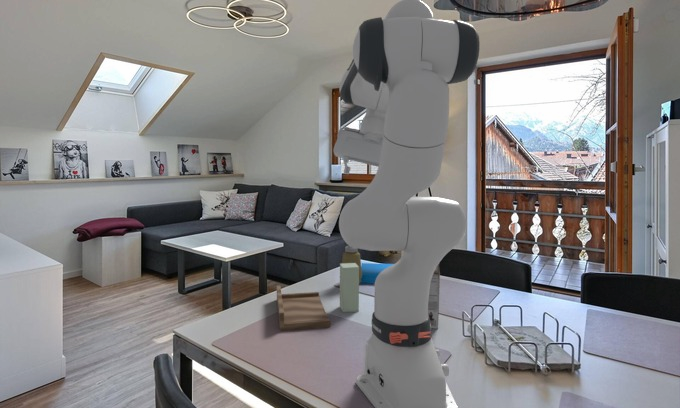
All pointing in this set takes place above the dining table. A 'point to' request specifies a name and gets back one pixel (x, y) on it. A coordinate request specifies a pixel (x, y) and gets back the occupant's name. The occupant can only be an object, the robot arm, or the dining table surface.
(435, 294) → the coffee box
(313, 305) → the tray
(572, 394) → the dining table surface
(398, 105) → the robot arm
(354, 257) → the squeeze bottle
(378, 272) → the book
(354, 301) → the sage block
